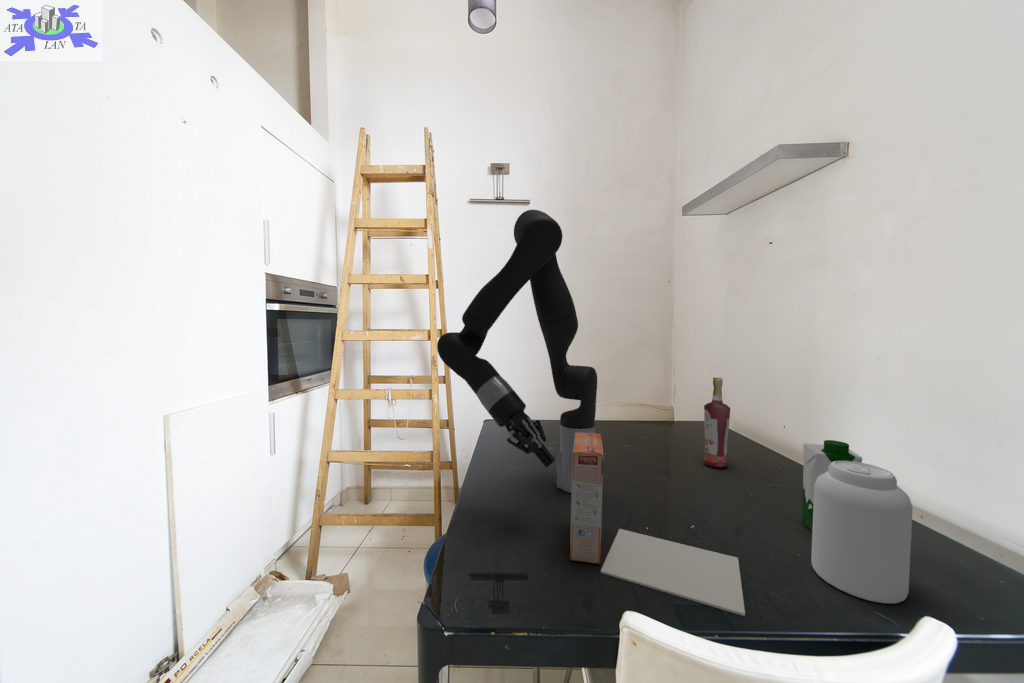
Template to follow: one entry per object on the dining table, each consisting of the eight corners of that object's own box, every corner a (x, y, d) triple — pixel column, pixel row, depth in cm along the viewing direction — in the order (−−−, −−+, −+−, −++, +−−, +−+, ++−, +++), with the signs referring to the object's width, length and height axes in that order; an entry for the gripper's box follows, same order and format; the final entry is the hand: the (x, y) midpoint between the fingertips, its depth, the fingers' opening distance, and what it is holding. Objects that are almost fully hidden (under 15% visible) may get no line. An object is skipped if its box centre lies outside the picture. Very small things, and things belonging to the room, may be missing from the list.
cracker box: (602, 566, 70) (604, 453, 69) (569, 561, 71) (570, 450, 70) (600, 527, 84) (602, 432, 83) (572, 523, 85) (573, 430, 84)
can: (888, 616, 58) (895, 487, 57) (796, 570, 69) (800, 461, 68) (921, 591, 64) (927, 473, 63) (831, 551, 75) (835, 451, 74)
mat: (600, 572, 68) (600, 570, 68) (619, 530, 82) (619, 528, 82) (745, 616, 58) (745, 614, 58) (737, 559, 72) (737, 557, 72)
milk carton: (812, 538, 80) (815, 443, 79) (795, 518, 88) (798, 432, 87) (864, 546, 77) (868, 448, 76) (842, 524, 85) (846, 436, 85)
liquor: (733, 470, 118) (736, 379, 117) (709, 469, 118) (712, 379, 117) (720, 461, 125) (723, 376, 124) (698, 461, 125) (700, 376, 124)
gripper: (496, 394, 78) (551, 463, 73) (524, 385, 90) (573, 445, 85) (474, 417, 81) (526, 485, 76) (504, 405, 93) (550, 464, 87)
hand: (551, 463), depth 80 cm, fingers closed
